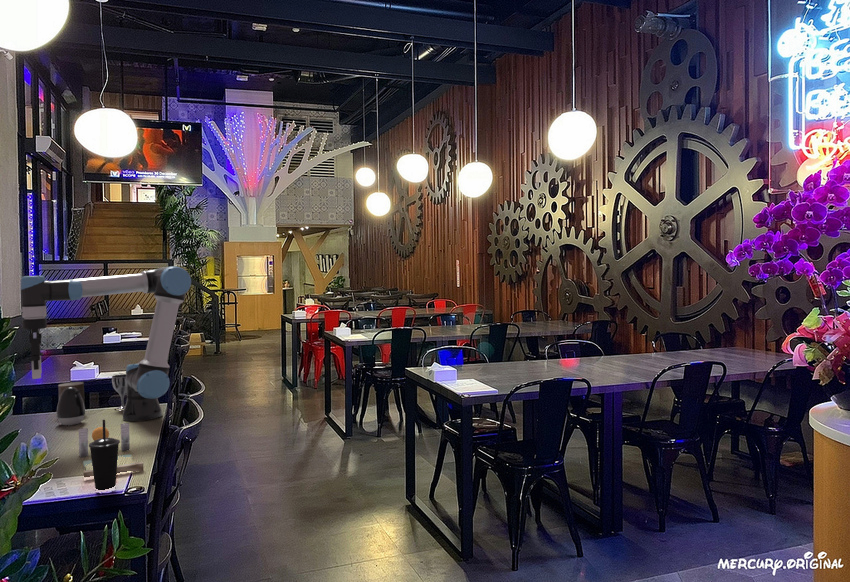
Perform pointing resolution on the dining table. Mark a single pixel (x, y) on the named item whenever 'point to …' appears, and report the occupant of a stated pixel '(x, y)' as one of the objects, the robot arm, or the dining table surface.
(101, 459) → the drinking cup
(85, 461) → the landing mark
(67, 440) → the dining table surface
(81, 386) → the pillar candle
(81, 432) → the post
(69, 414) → the black tapered dome
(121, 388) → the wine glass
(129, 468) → the stopper wall
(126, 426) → the post
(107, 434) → the ball
